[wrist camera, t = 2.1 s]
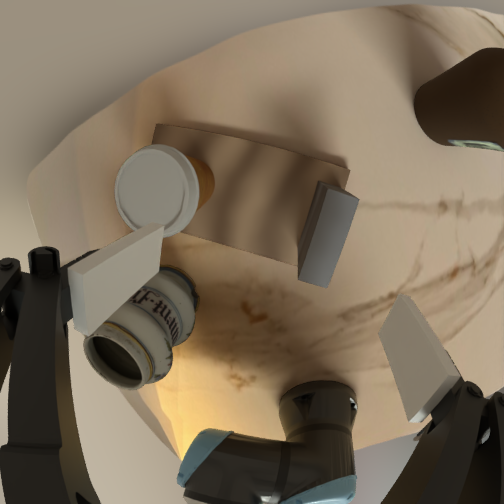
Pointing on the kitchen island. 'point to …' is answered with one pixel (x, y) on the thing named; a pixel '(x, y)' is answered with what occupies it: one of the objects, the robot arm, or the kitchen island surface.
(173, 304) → the apothecary jar
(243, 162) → the walnut board
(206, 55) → the kitchen island surface
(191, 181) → the disposable coffee cup
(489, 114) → the olive oil
